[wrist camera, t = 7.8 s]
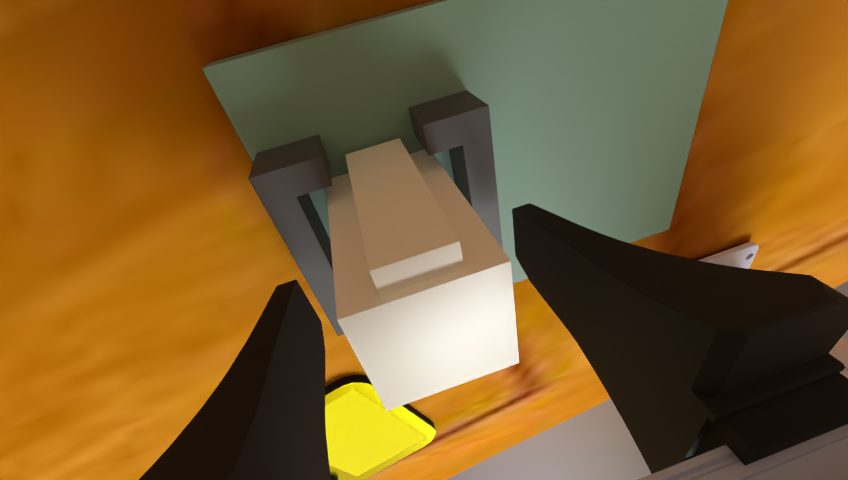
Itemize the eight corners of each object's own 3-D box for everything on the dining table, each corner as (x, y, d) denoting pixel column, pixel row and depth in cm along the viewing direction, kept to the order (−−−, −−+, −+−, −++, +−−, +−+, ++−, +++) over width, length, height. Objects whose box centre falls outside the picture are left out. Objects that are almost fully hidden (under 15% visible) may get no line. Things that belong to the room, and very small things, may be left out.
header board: (655, 219, 21) (700, 250, 18) (347, 325, 19) (353, 374, 17) (722, -80, 13) (817, -94, 10) (209, 62, 11) (182, 83, 9)
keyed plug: (446, 231, 16) (519, 362, 11) (359, 260, 16) (386, 411, 10) (424, 127, 13) (508, 232, 8) (316, 160, 13) (323, 294, 7)
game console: (352, 357, 22) (354, 378, 20) (441, 419, 28) (447, 438, 27) (131, 496, 24) (122, 522, 23) (261, 523, 31) (259, 545, 29)
